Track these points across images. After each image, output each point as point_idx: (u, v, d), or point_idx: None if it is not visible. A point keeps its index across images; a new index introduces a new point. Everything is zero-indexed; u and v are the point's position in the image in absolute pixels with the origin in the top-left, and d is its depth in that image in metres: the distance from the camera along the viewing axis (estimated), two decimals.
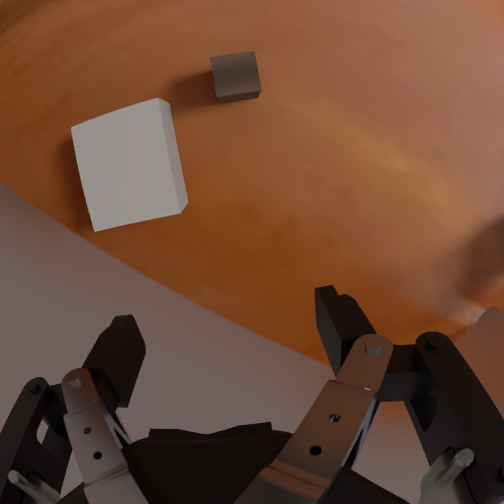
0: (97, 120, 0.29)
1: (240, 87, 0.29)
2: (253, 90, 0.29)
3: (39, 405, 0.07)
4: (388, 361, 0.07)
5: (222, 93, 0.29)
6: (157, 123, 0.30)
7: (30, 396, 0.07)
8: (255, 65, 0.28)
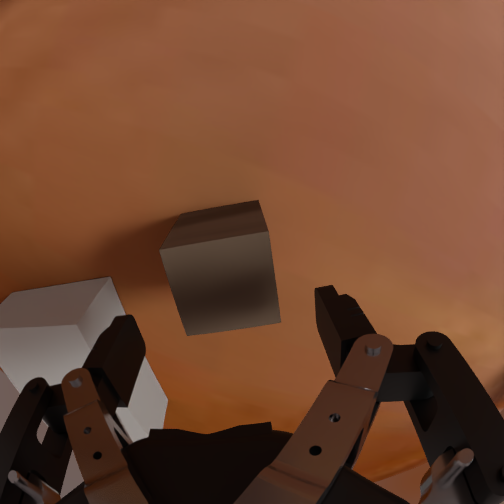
0: (3, 333, 0.15)
1: (235, 317, 0.15)
2: (263, 323, 0.15)
3: (39, 404, 0.07)
4: (388, 361, 0.07)
5: (198, 329, 0.15)
6: None
7: (30, 396, 0.07)
8: (270, 269, 0.14)
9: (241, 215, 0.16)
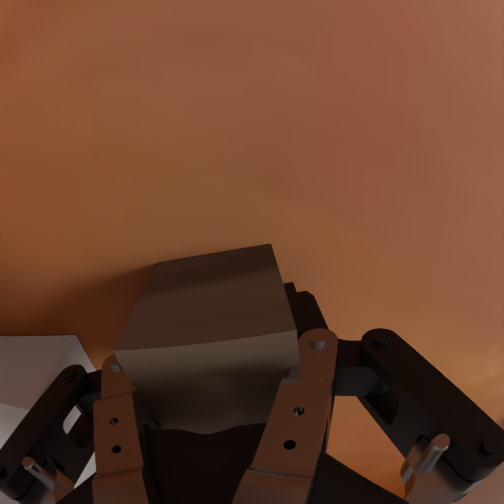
0: None
1: None
2: None
3: (72, 394, 0.07)
4: (330, 355, 0.08)
5: None
6: None
7: (64, 383, 0.07)
8: None
9: (246, 279, 0.10)
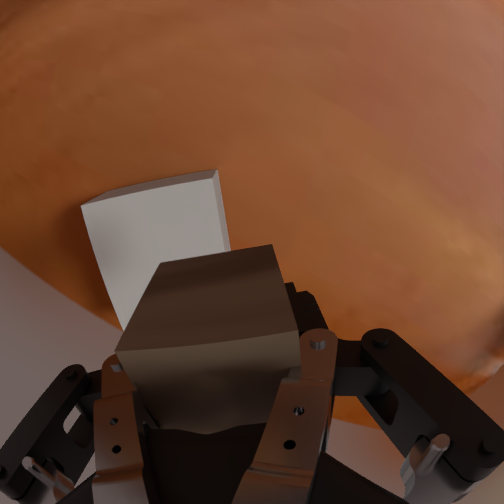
0: (120, 201, 0.22)
1: None
2: None
3: (72, 394, 0.07)
4: (330, 355, 0.08)
5: None
6: (211, 216, 0.23)
7: (64, 384, 0.07)
8: None
9: (247, 280, 0.10)
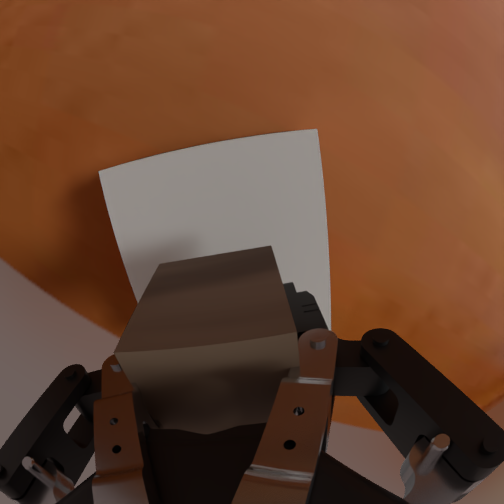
0: (165, 161, 0.14)
1: None
2: None
3: (72, 394, 0.07)
4: (330, 355, 0.08)
5: None
6: (313, 186, 0.15)
7: (64, 383, 0.07)
8: None
9: (246, 281, 0.10)
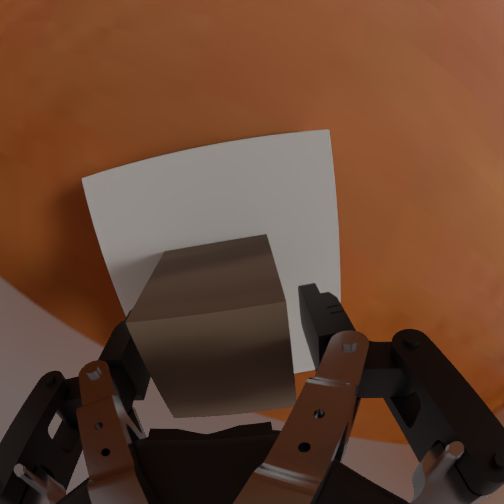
0: (155, 166, 0.12)
1: (237, 402, 0.10)
2: (274, 406, 0.10)
3: (53, 400, 0.07)
4: (363, 357, 0.07)
5: (188, 413, 0.10)
6: (324, 194, 0.13)
7: (45, 390, 0.07)
8: (286, 349, 0.09)
9: (244, 263, 0.11)
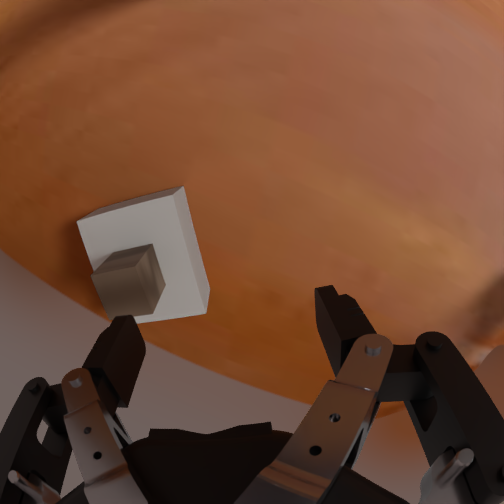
0: (105, 216, 0.29)
1: (129, 310, 0.26)
2: (144, 313, 0.26)
3: (39, 405, 0.07)
4: (388, 361, 0.07)
5: (114, 316, 0.26)
6: (174, 224, 0.29)
7: (30, 396, 0.07)
8: (140, 285, 0.25)
9: (134, 255, 0.27)
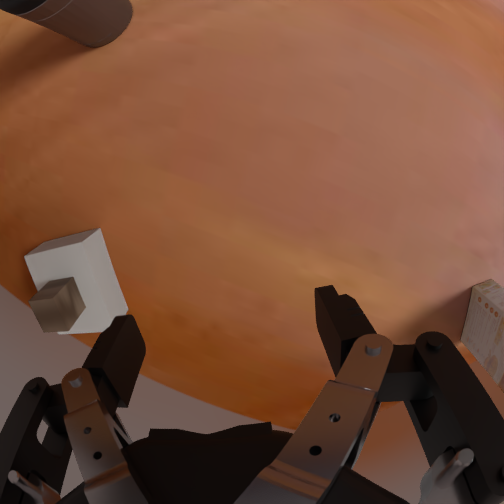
0: (41, 254, 0.34)
1: (54, 327, 0.31)
2: (63, 330, 0.31)
3: (39, 405, 0.07)
4: (388, 361, 0.07)
5: (46, 330, 0.31)
6: (86, 263, 0.34)
7: (30, 396, 0.07)
8: (57, 311, 0.30)
9: (57, 287, 0.32)
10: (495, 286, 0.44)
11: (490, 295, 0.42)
